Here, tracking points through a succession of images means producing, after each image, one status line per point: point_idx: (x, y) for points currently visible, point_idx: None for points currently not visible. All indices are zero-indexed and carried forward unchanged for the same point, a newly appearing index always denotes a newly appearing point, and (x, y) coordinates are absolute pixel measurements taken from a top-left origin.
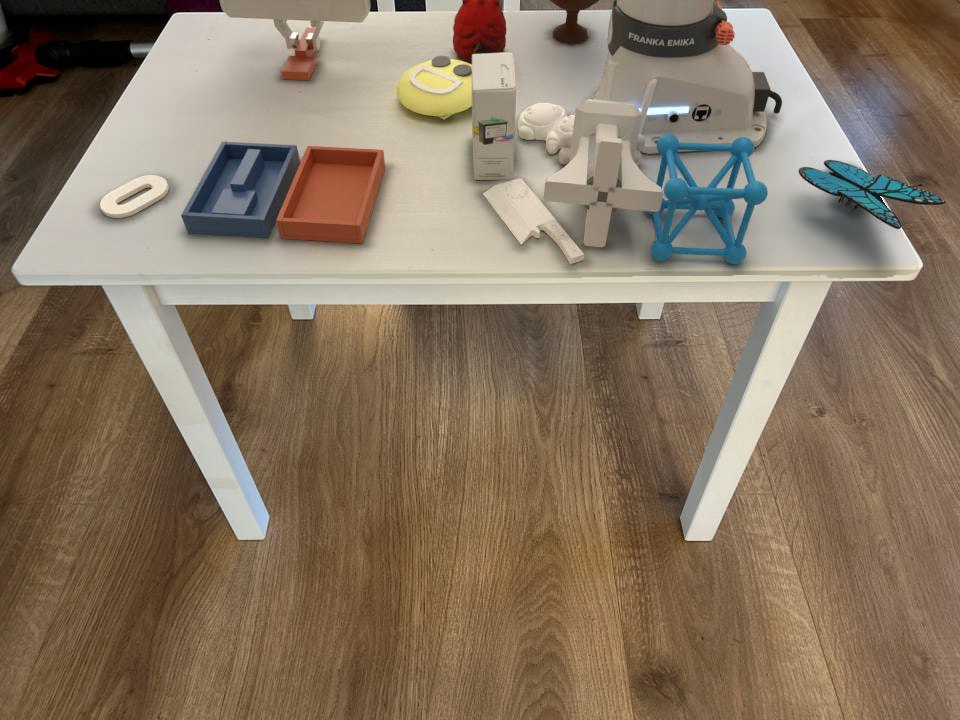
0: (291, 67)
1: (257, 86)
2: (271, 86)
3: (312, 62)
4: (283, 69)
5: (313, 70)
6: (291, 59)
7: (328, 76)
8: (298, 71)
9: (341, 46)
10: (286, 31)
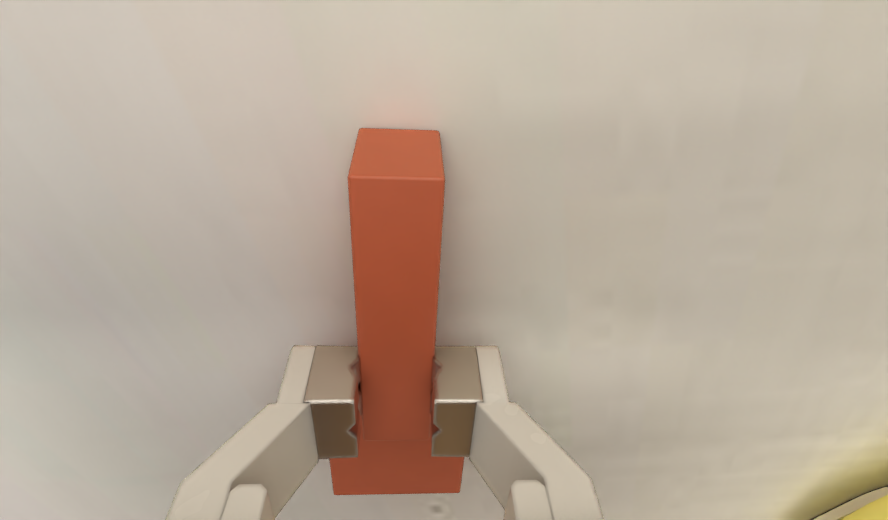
0: (374, 473)
1: None
2: (312, 493)
3: None
4: (342, 488)
5: None
6: None
7: None
8: (416, 491)
9: (599, 171)
10: (289, 478)
